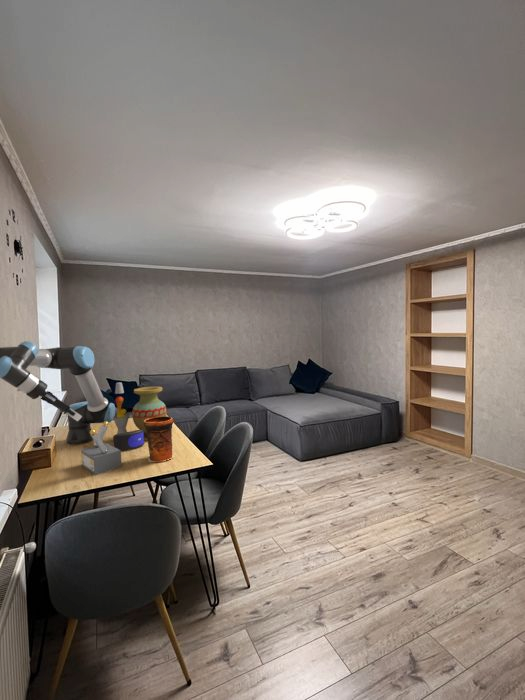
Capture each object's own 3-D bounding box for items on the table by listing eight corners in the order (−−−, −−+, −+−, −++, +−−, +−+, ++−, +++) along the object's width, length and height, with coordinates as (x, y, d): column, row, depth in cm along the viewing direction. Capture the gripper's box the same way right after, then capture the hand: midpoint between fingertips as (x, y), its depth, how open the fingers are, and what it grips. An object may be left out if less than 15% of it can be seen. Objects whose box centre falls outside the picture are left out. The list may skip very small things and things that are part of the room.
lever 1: (92, 445, 170) (103, 420, 173) (97, 446, 171) (107, 421, 175) (95, 446, 167) (105, 421, 171) (99, 447, 169) (110, 422, 173)
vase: (132, 436, 214) (129, 388, 212) (165, 431, 222) (163, 385, 220) (134, 445, 196) (131, 392, 194) (170, 439, 203) (167, 389, 202)
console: (80, 466, 167) (79, 450, 166) (107, 458, 176) (106, 443, 175) (94, 475, 155) (92, 457, 154) (121, 466, 164) (120, 450, 163)
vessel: (144, 465, 164) (142, 423, 164) (146, 455, 178) (144, 417, 178) (175, 461, 168) (173, 420, 168) (175, 452, 182) (173, 414, 181)
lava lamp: (119, 444, 198) (115, 384, 196) (111, 442, 203) (107, 383, 201) (133, 440, 205) (130, 381, 203) (125, 437, 211) (121, 381, 209)
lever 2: (101, 452, 161) (87, 431, 157) (106, 449, 163) (92, 428, 158) (104, 454, 159) (90, 432, 154) (108, 451, 160) (95, 429, 156)
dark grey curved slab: (115, 453, 183) (114, 436, 182) (113, 451, 186) (112, 434, 186) (146, 446, 192) (145, 430, 192) (143, 444, 196) (142, 428, 195)
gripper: (21, 392, 143) (68, 423, 155) (29, 395, 134) (78, 428, 146) (35, 378, 146) (80, 409, 159) (44, 380, 137) (90, 413, 150)
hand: (79, 418), depth 153 cm, fingers closed
